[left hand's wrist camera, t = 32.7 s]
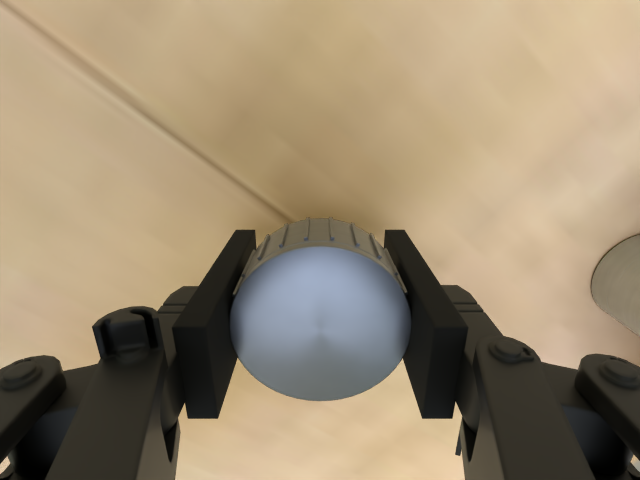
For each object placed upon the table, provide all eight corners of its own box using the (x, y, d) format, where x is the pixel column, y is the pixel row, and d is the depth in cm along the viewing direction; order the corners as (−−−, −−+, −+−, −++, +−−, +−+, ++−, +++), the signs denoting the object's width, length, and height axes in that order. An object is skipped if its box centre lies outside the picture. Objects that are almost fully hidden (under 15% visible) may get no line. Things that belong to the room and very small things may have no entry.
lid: (306, 181, 11) (302, 201, 9) (430, 277, 12) (455, 318, 10) (213, 299, 12) (189, 343, 10) (331, 375, 14) (334, 429, 11)
